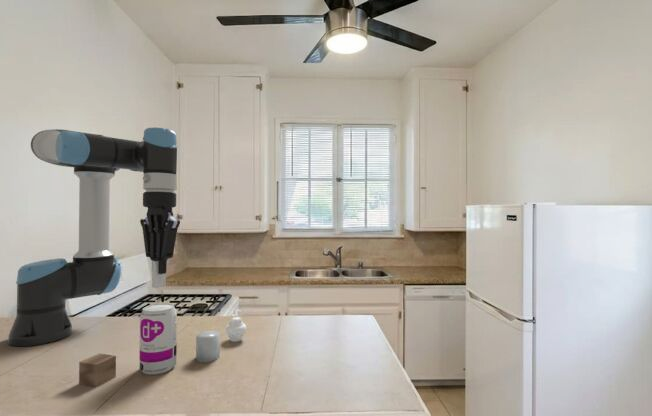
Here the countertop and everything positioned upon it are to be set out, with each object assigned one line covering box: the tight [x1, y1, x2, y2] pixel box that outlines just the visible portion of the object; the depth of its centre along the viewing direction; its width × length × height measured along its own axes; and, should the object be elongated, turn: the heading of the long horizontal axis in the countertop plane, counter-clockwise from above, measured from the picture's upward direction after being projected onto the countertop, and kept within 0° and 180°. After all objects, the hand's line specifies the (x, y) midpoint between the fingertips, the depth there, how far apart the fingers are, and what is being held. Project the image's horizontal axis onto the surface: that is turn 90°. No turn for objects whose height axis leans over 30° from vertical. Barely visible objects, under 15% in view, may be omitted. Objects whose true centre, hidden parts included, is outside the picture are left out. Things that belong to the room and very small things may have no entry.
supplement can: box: [138, 303, 178, 376], centre depth 87 cm, size 8×8×15 cm
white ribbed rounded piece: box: [225, 316, 247, 343], centre depth 106 cm, size 6×6×7 cm
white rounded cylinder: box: [195, 330, 221, 363], centre depth 93 cm, size 6×6×6 cm
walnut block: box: [78, 352, 117, 388], centre depth 80 cm, size 5×5×5 cm
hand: (158, 286), depth 87 cm, fingers closed
